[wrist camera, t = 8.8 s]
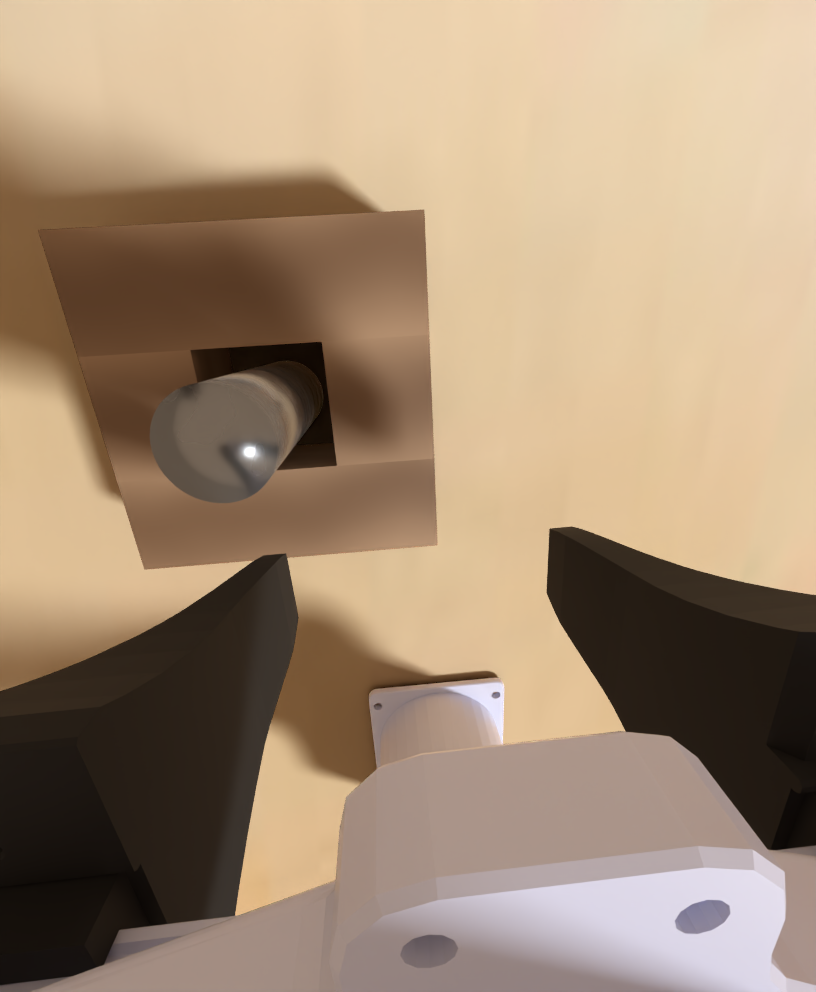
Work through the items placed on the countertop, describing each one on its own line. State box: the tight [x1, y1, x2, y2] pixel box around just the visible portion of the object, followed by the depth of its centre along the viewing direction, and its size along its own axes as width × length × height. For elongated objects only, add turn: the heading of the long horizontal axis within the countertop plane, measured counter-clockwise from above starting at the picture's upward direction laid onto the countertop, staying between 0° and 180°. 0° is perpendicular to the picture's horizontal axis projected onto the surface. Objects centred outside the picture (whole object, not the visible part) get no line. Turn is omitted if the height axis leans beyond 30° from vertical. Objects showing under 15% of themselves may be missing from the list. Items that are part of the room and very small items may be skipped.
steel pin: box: [150, 361, 323, 503], centre depth 15 cm, size 3×3×10 cm
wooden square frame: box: [38, 210, 437, 569], centre depth 18 cm, size 12×12×4 cm
